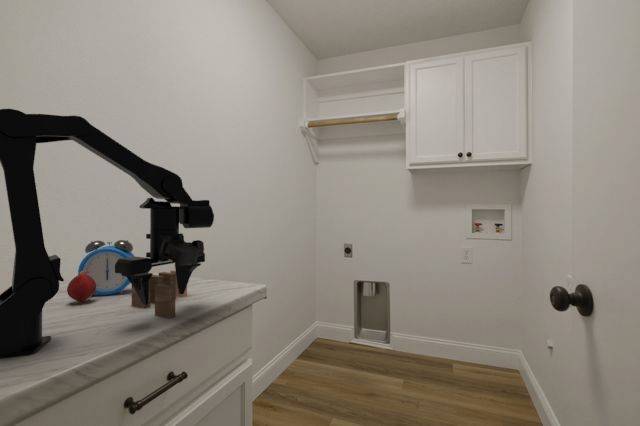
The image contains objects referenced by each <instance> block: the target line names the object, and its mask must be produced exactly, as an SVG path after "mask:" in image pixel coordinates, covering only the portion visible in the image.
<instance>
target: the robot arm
mask: <svg viewBox="0 0 640 426" xmlns="http://www.w3.org/2000/svg"><path fill="white" fill-rule="evenodd" d="M63 141H65V142H66V141H74V142H75V143H77V144H79V146H81V147H83V148H85V149H87V150H88V151H90V152H91V153H93V154H94V155H96V156H98V157H100V158H101V159H103V160H104V161H106V162H107V163H109V164H111V165H112V166H114V167H116V168H117V169H118V170H120V171H122V172H124V173H125V174H127V175H128V176H130V177H131V178H132V179H133V180H134V181H135V182H136V183H137V184H138V185H139V186H140V188H142V189H143V190H144V191H145V192H146V193H148V194H149V195H150V196H151V197H147V198H146V200H145V201H144V202H143V203H141V204H140V205H139V209H150V214H149V215H150V220H149V221H150V222H149V224H150V226H149V230H150V231H149V232H150V233H146V234H145V236H146V237H145V238H146V239H149V243H150V244H149V250H150V251H149V252H145V253H146V254H145V257H141V256H135V257H128V258H121V259H118V261H117V262H116V264H115V273H120V274H121V276H125V277H127V278H128V280H129V281H130V284H131V286H132V285H133V287H134V289H135V291H136V292H137V294H138V296H139V298H140V300H141V302H142V304H143V305H148V300H149V279H150V278H151V276H152V275H154V274H153V273H152V272H151V273H150V271H151V270H152V268H154V267H158V266H163V265H164V266H165V265H171V264H174V270H176V277H177V285H178V290H179V294H184V292H185V289H186V287H187V288H188V284H189V281H190V278H191V276H192V273H193V271H195V269H197V268H198V267H200V266H201V265H202V263H204V262H205V261H206V253H205V246H204V245H205V244H204V241H202V240H200V239H198V240H197V239H196V240H193V241H192V242H190V241H189V242H187V241H185V236H184V233H182V232H181V233H180V225H182V226H183V229H203V228H211V227H212V226H213V224H214V221H215V214H214V212H213V208H212V206H211V205H210V200H209V199H202V200H201V199H200V200H193V199H192V197H191V196H190V195H189V193H188V192H187V191H186V189H185V188H184V186H183V185H184V184H183V180H182V178H181V177H180V176H179V175H178V174H177V173H175V172H173V171H171V170H168V169H166V168H164V167H162V166H159V165H157V164H154V163H151V162H149V161H147V160H145V159H143V158H142V157H140V156H139V155H137V154H136V153H134V152H132V151H131V150H130V149H128V148H127V147H125V146H124V145H122V144H121V143H119V142H117V140H115V139H113V138H112V137H111V136H109V135H108V134H106V133H104V132H102V131H101V129H98V128H97V127H95V126H94V125H92V124H91V123H90V122H89V121H88V120H87V118H84V117H82V116H80V115H76V114H75V115H57V114H56V115H55V114H45V113H25V112H23V111H21V110H18V109H14V108H0V166H1V167H2V171H3V174H4V175H3V176H4V182H5V188H6V189H5V190H6V195H7V201H8V208H9V214H10V222H11V228H12V234H13V241H14V242H13V243H14V248H15V251H14V260H13V261H14V262H13V269H12V278H11V280H12V281H11V285H10V287H8V288H7V289H5V290H4V291H3V292H1V294H0V358H7V357H15V356H22V355H31V354H34V353H35V352H38V351H39V349H40V348H42V347H43V346H44V345H46V344H47V343H48V342H49V341H51V340H52V335H47V336H45V335H44V336H43V308H44V306H45V304H46V303H47V302H48V301H50V300H51V299H53V298H54V297H55V296H56V295H57V293H58V292H59V289H60V282H64V281H65V279H64V278H63V276H62V274H61V258H60V257H59V256H58V255H57V254H52V255H49V253H48V252H47V250H46V246H45V240H44V239H45V238H44V234H43V227H42V219H41V213H40V206H39V199H38V193H37V191H38V190H37V185H36V184H37V183H36V178H35V172H34V171H35V170H34V165H35V156H36V149H37V144H46V143H55V142H63ZM154 198H155V199H159V200H165V201H156V200H155V199H154ZM172 204H177V205H178V204H179V206H172Z"/></svg>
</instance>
